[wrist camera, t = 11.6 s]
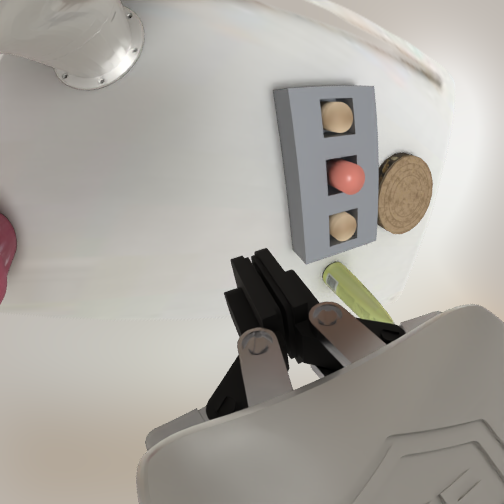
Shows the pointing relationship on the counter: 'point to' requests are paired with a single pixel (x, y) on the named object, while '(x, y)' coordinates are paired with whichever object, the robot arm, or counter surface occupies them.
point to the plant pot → (6, 251)
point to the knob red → (345, 176)
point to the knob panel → (314, 167)
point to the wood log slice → (403, 192)
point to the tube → (354, 293)
